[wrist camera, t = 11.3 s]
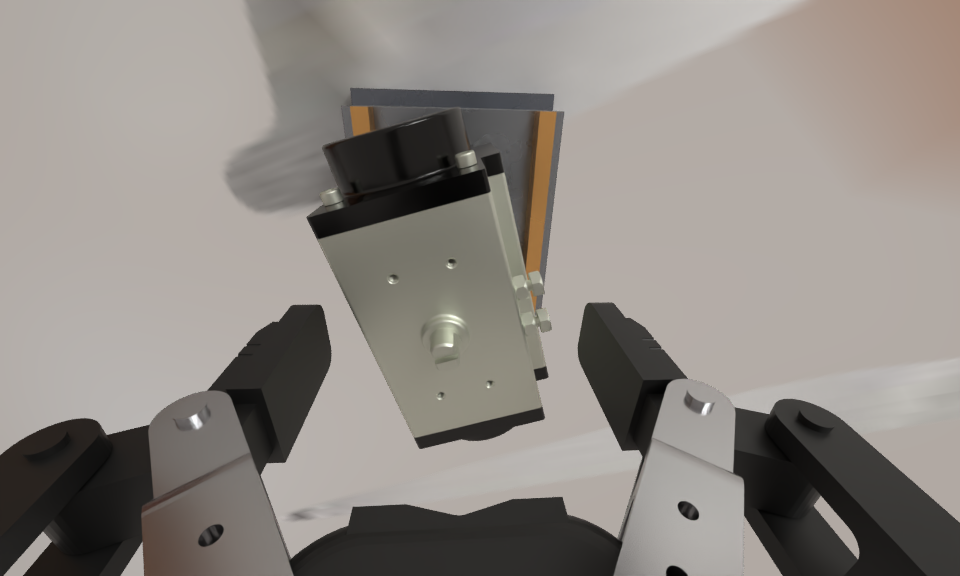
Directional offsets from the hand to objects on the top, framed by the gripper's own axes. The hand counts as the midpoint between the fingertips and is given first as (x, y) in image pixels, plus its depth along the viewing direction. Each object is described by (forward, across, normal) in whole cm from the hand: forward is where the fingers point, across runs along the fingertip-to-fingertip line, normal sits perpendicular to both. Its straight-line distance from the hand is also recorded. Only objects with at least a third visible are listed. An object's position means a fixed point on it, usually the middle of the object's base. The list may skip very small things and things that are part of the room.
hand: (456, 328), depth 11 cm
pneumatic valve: (+11, 0, 0) cm, 11 cm away
